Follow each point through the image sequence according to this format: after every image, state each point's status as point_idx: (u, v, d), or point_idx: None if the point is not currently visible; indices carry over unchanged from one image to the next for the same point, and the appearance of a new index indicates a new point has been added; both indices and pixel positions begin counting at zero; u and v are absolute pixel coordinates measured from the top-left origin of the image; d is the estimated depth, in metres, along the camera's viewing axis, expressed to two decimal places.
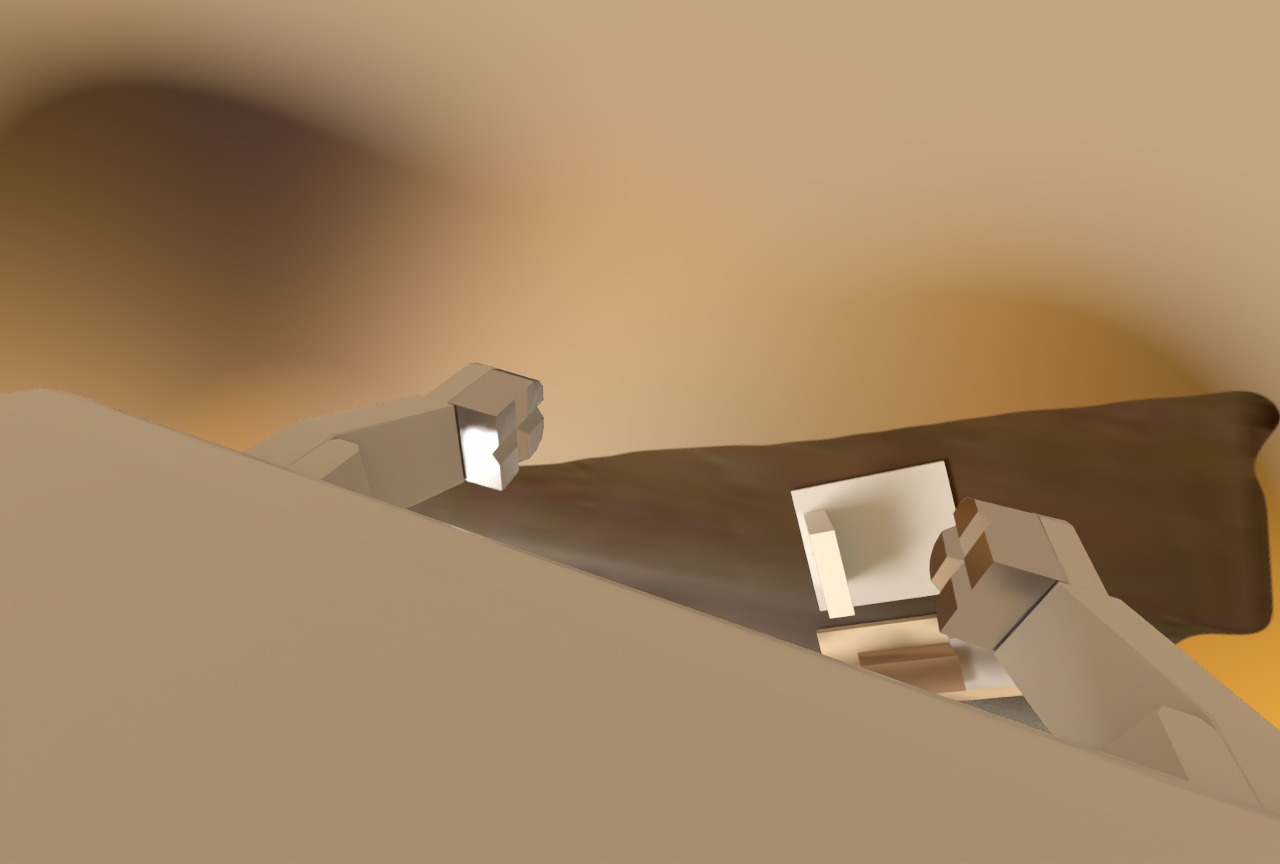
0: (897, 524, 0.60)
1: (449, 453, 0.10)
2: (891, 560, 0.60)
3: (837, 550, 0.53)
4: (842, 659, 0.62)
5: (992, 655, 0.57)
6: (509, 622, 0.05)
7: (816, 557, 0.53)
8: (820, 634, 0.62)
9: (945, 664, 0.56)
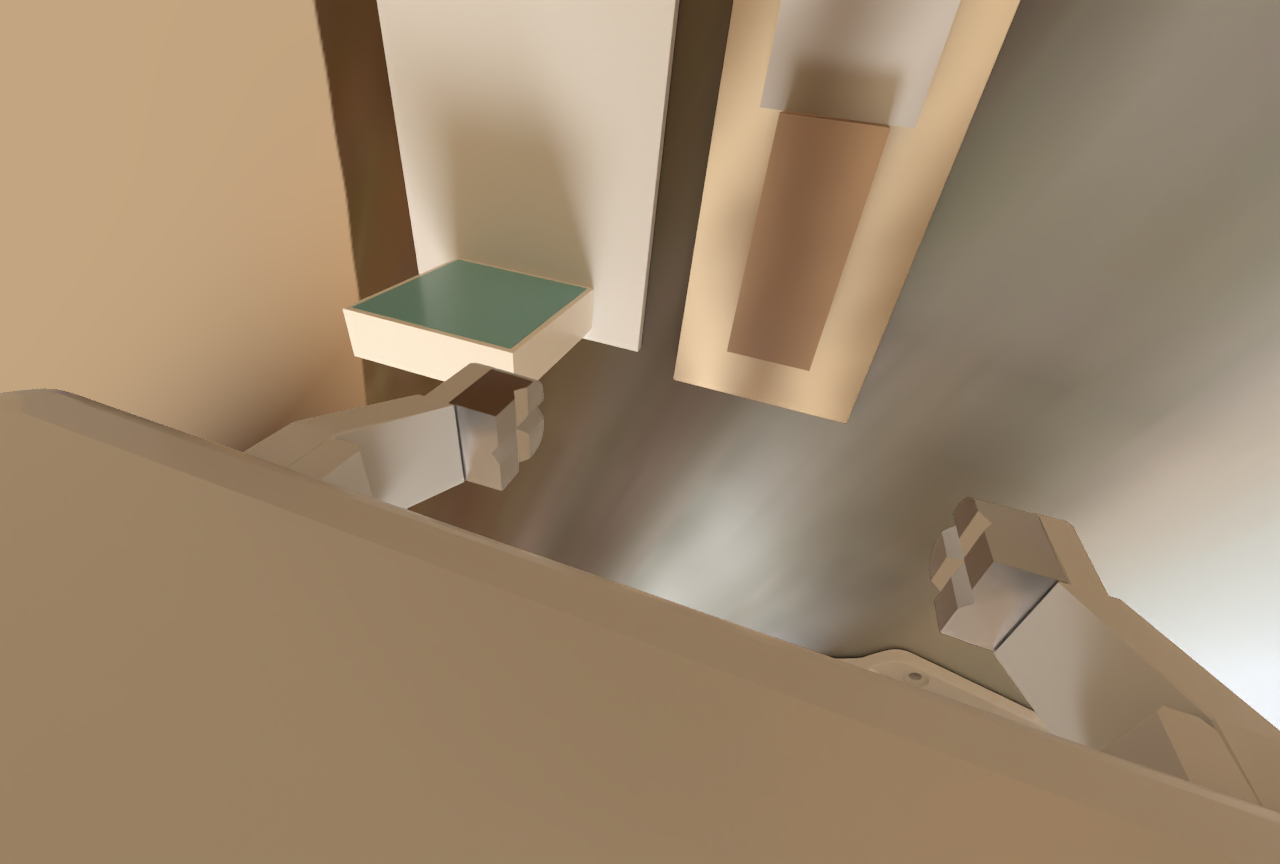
0: (494, 123, 0.26)
1: (449, 453, 0.10)
2: (567, 168, 0.26)
3: (380, 321, 0.24)
4: (741, 361, 0.28)
5: None
6: (509, 622, 0.05)
7: (395, 365, 0.25)
8: (677, 373, 0.30)
9: (792, 158, 0.20)
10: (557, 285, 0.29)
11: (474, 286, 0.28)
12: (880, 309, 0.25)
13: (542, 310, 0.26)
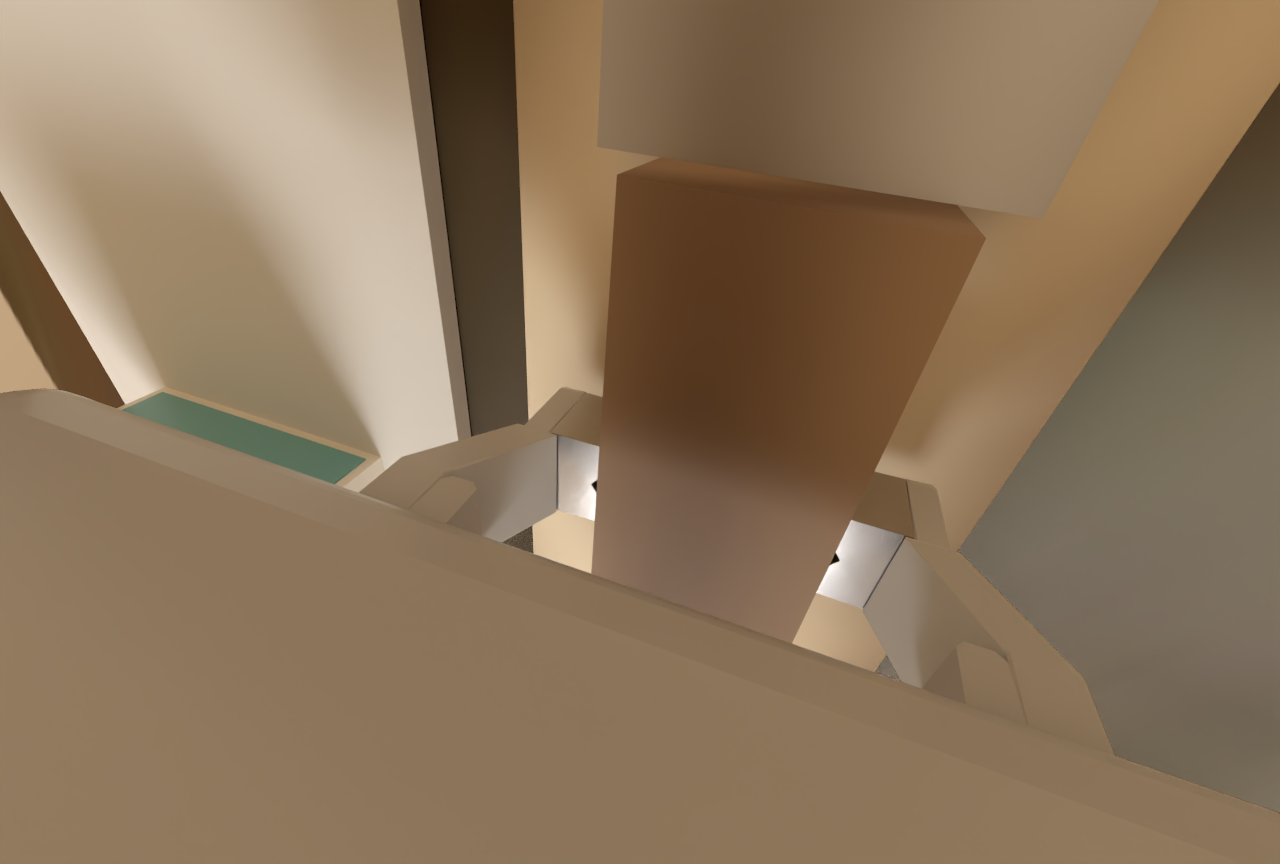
0: (128, 164, 0.13)
1: (547, 484, 0.09)
2: (276, 255, 0.13)
3: None
4: None
5: None
6: (509, 622, 0.05)
7: None
8: None
9: (670, 304, 0.07)
10: (313, 451, 0.16)
11: None
12: None
13: None
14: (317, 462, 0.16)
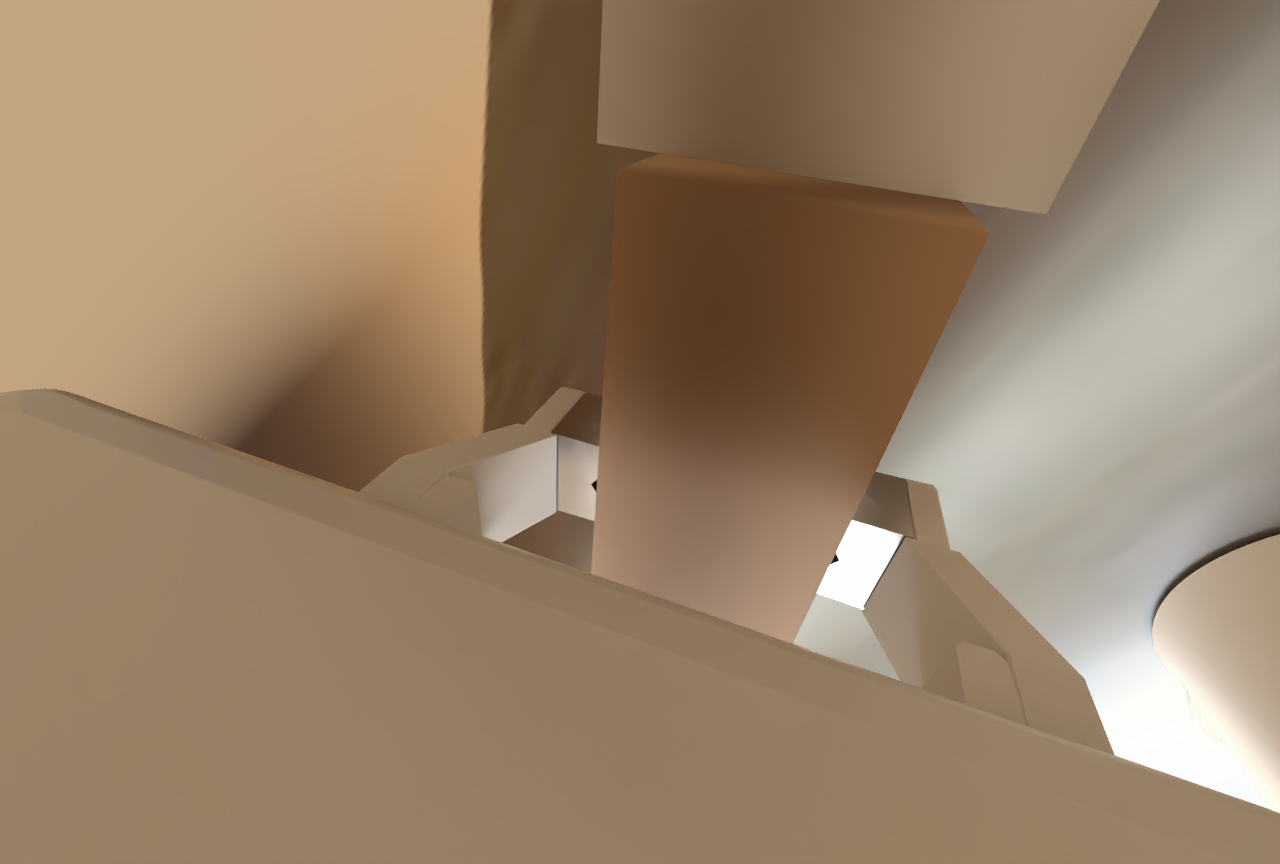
0: None
1: (547, 483, 0.09)
2: None
3: None
4: None
5: None
6: (509, 622, 0.05)
7: None
8: None
9: (671, 300, 0.07)
10: None
11: None
12: None
13: None
14: None
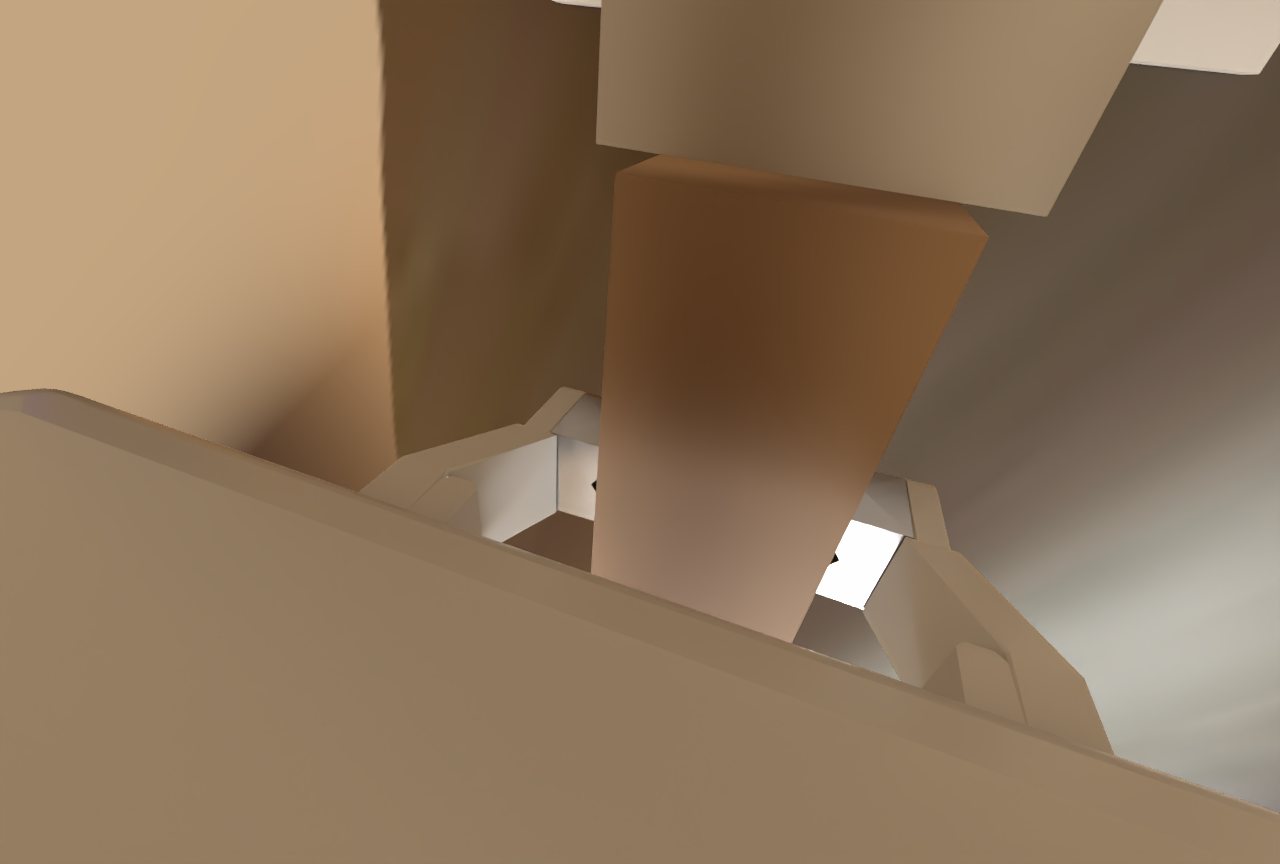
0: None
1: (547, 484, 0.09)
2: None
3: None
4: None
5: None
6: (509, 622, 0.05)
7: None
8: None
9: (669, 303, 0.07)
10: None
11: None
12: None
13: None
14: None
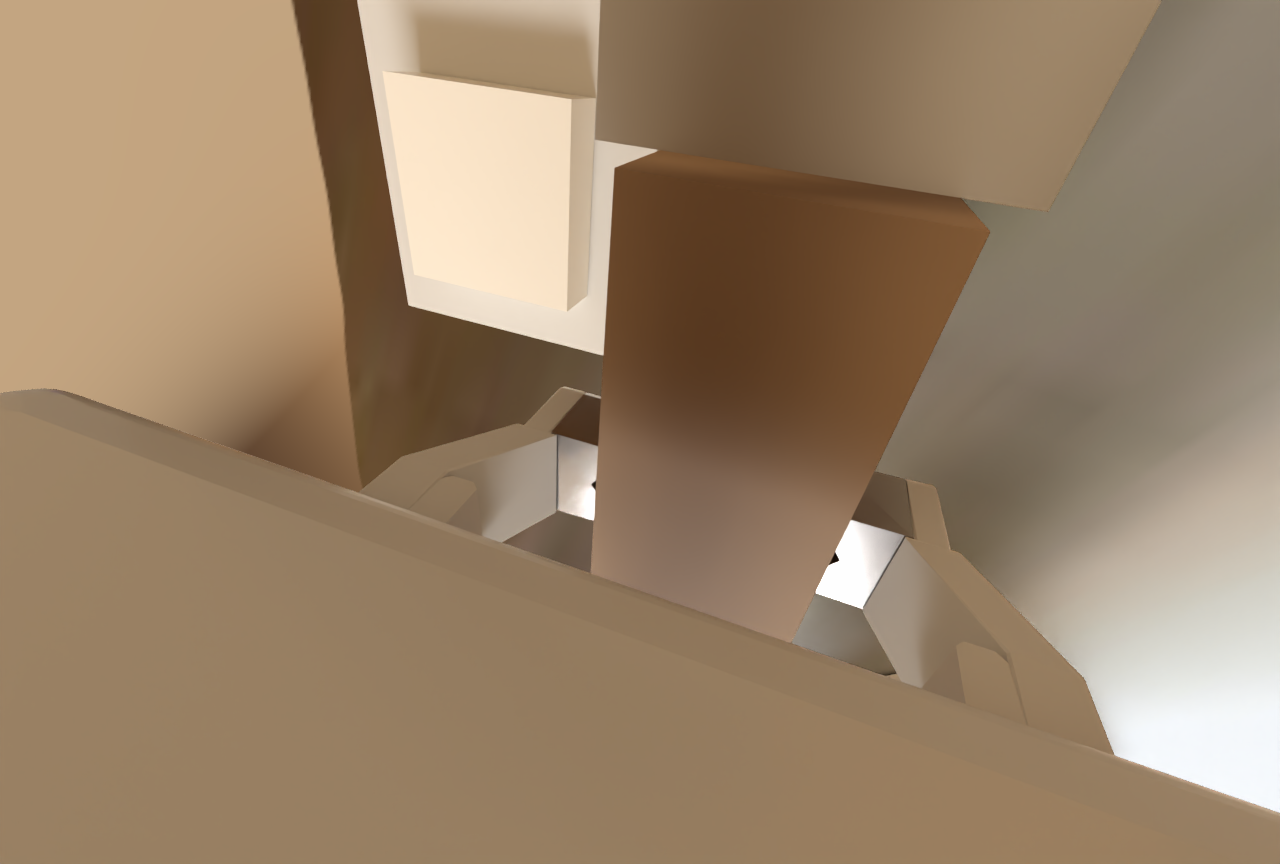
0: None
1: (547, 484, 0.09)
2: None
3: (456, 78, 0.24)
4: None
5: None
6: (509, 622, 0.05)
7: (432, 77, 0.22)
8: None
9: (669, 299, 0.07)
10: None
11: None
12: None
13: None
14: None
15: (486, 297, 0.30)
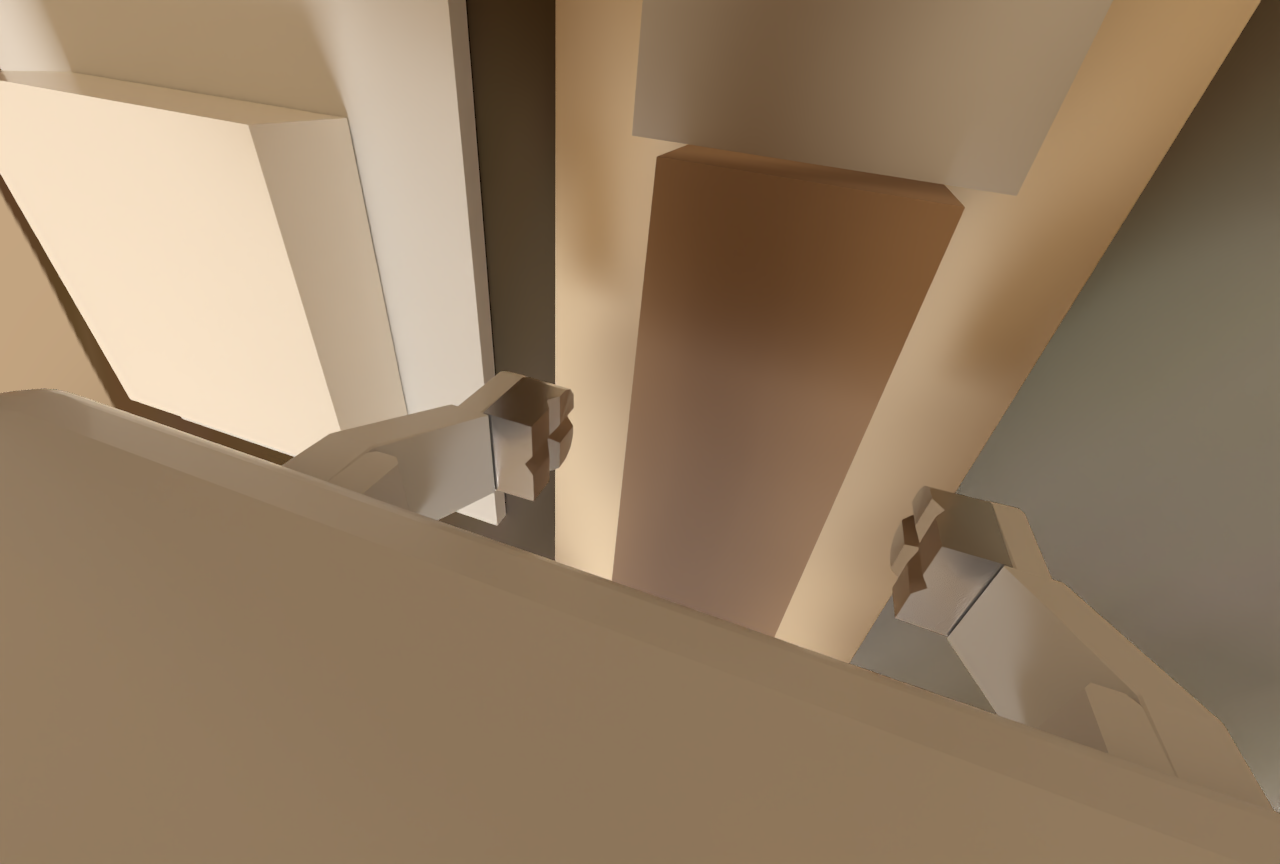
0: None
1: (482, 463, 0.09)
2: None
3: (120, 81, 0.13)
4: None
5: None
6: (509, 622, 0.05)
7: (22, 82, 0.11)
8: None
9: (698, 269, 0.08)
10: None
11: None
12: None
13: None
14: None
15: None
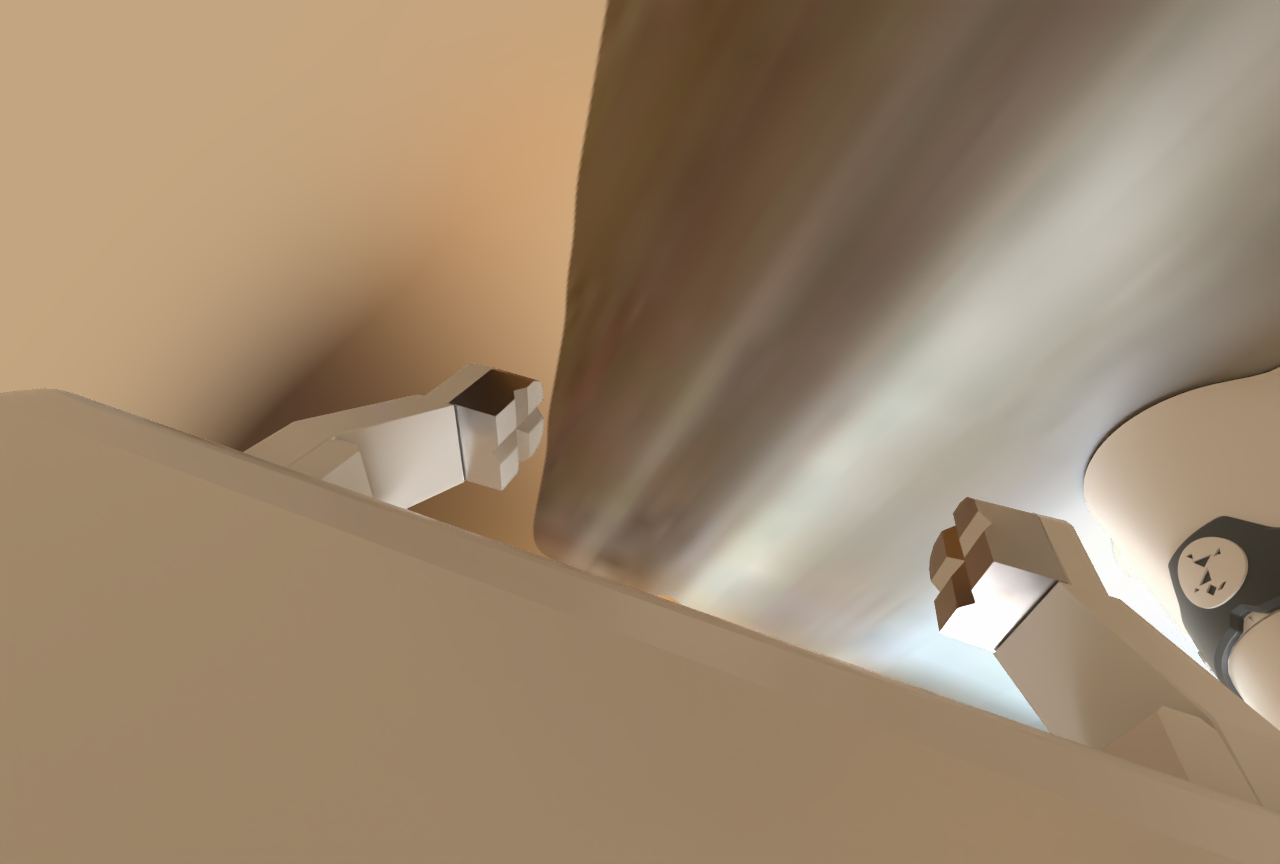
0: None
1: (449, 453, 0.10)
2: None
3: None
4: None
5: None
6: (509, 622, 0.05)
7: None
8: None
9: None
10: None
11: None
12: None
13: None
14: None
15: None
